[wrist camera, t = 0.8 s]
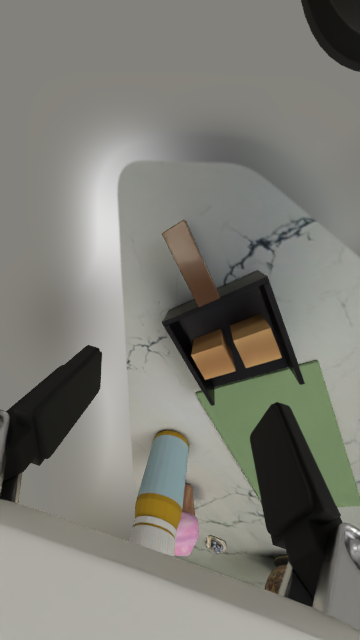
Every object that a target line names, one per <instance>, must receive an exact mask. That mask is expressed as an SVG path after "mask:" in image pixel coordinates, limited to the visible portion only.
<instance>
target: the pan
mask: <svg viewBox="0 0 360 640" xmlns="http://www.w3.org/2000/svg"><path fill="white" fill-rule="evenodd" d="M162 235H163V237H164V239H165V241H166V243H167V245H168V247H169V249H170V251H171V253H172V255H173V257H174V259H175V261H176V263H177V265H178V267H179V269H180V271H181V273H182V275H183V277H184V279H185V281H186V283H187V285H188V287H189V289H190V291H191V293H192V295H193V297H194V299H193V300H191V301H189V302H187V303H184V304H182V305H180V306H178V307H176V308H173V309H171V310H169V311H168V313H167V315H166V316H165V318H164V320H163V322H162V324H163V326H165V329H166V331H167V332H168V334H169V336H170V337H171V339H172V341H173V342H174V344H175V346H176V348H177V349H178V351H179V353H180V354H181V356H182V358H183V359H184V361H185V363H186V364H187V366H188V368H189V369H190V371H191V373H192V375H193V376H194V378H195V380H196V381H197V383H198V385H199V386H200V388H201V390H202V391H203V393H204V395H205V396H206V398H207V400H208V402H209V403H210V405H211V406H213V405H215V391H214V387H216V386H220V385H223V384H227V383H231V382H234V381H238V380H242V379H246V378H249V377H253V376H257V375H260V374H264V373H268V372H271V371H275V370H279V369H283V368H286V367H289V368H290V370H291V372H292V373H293V375H294V376H295V378H296V380H297V381H298V383H299V385H303V384H305V382H304V379H303V376H302V373H301V371H300V368H299V365H298V362H297V359H296V356H295V353H294V351H293V348H292V345H291V342H290V339H289V336H288V333H287V331H286V328H285V325H284V322H283V319H282V316H281V313H280V311H279V308H278V305H277V302H276V299H275V296H274V293H273V291H272V288H271V285H270V282H269V279H268V277H267V276H266V275H264V274H263V273H261V272H259V271H258V270H257V271H255V272H253V273H250V274H248V275H246V276H244V277H242V278H239V279H237V280H235V281H233V282H231V283H228V284H226V285H224V286H222V287H220V288H216V286H215V284H214V281H213V279H212V277H211V275H210V273H209V270H208V268H207V266H206V264H205V261H204V259H203V257H202V255H201V253H200V250H199V248H198V246H197V244H196V242H195V239H194V237H193V235H192V233H191V231H190V228H189V226H188V224H187V222H186V221H185V220H182V221H181V222H179V223H178V224H176V225H174V226H173V227H171V228H170V229H168V230H166V231H165V232H163V233H162ZM258 314H262V316H263V317H264V319H265V320H266V322H267V323H268V325H269V326H270V328H271V330H272V333H273V335H274V338H275V340H276V343H277V346H278V348H279V351H280V354H281V356H282V358H280V359H276V360H273V361H269V362H266V363H262V364H259V365H255V366H252V367H248V368H246V367H245V365H244V363H243V361H242V359H241V357H240V354H239V352H238V350H237V348H236V346H235V344H234V342H233V338H232V333H231V329H230V325H232V324H235V323H237V322H240V321H243V320H245V319H248V318H251V317H253V316H256V315H258ZM219 329H221V330H222V332H223V334H224V336H225V338H226V340H227V342H228V344H229V346H230V349H231V351H232V354H233V359H234V364H235V369H236V371H234V372H231V373H228V374H224V375H221V376H217V377H214V378H210V379H207V380H205V379H204V377H203V375H202V374H201V372H200V370H199V368H198V367H197V365H196V363H195V361H194V360H193V358H192V356H191V353H192V347H193V341H194V339H195V338H197V337H200V336H203V335H205V334H208V333H211V332H213V331H216V330H219Z"/></svg>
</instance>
